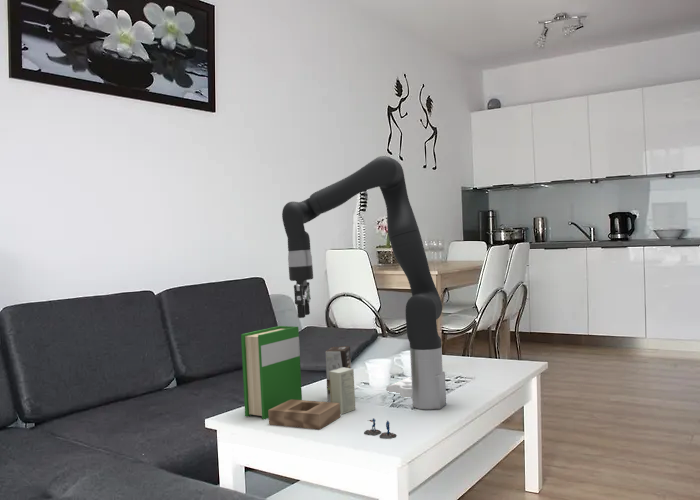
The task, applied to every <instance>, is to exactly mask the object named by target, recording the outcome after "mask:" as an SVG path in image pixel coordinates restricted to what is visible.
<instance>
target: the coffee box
mask: <svg viewBox="0 0 700 500" xmlns="http://www.w3.org/2000/svg"><path fill="white" fill-rule="evenodd" d="M342 367H345V368H351V369H352V362H351V346H350V345H349V346H348V345H345V346H344V345H343V346H342V345H341V346H331V347H329V348H328V349H327V350H325V372H326V373H325V374H326V375H325V376H326V392H327V393H326V395H327V401H326V402H331V397H330V376H329V371H332V370H335V369H339V368H342Z"/></svg>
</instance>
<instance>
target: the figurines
mask: <svg viewBox="0 0 700 500" xmlns="http://www.w3.org/2000/svg"><path fill="white" fill-rule="evenodd" d="M367 422H371V423H373V424H372V425H371V429H366V430H364V432H363V434H364V435H367V436H376V435H379V438H380V439H390V440H391V439H396V438H397V434H396V433H394V432H390V428H391V427H390V424H391V423H390V421H389V420H386V423H385V427H386V430H387V431H386V432H382V431H381V430H380V429H377V428H376V419H375V418H372V419H370V420H367Z"/></svg>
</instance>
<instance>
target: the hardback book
mask: <svg viewBox="0 0 700 500" xmlns="http://www.w3.org/2000/svg"><path fill="white" fill-rule="evenodd" d="M240 339H241V340H240V343H241V360H242V361H241V362H242V381H243V398H244V399H243V400H244V417H245V416H249V417H251V416H260V417H261V420H264V419H265V420H267V419H269V415H268V410H269V409H272V408H274V407H276V406H278V405H280V404H282V403H284V402H286V401H288V400H291V399H293V400H303V393H302V392H303V391H302V374H301V373H302V372H301V355H300V352H301V351H300V349H301V348H300V332H299V326H288V325H278V326H274V327H272V326H271V327H269V328H264V329H259V330H255V331H251V332H250V331H249V332H245V333H242V334H240ZM250 415H251V416H250Z"/></svg>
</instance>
